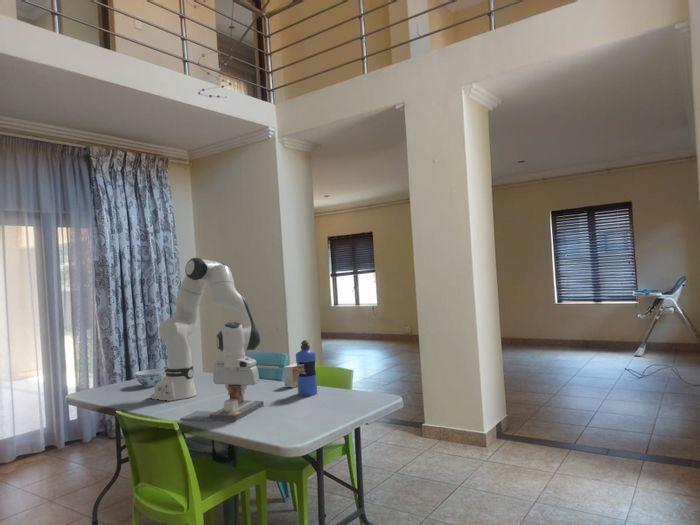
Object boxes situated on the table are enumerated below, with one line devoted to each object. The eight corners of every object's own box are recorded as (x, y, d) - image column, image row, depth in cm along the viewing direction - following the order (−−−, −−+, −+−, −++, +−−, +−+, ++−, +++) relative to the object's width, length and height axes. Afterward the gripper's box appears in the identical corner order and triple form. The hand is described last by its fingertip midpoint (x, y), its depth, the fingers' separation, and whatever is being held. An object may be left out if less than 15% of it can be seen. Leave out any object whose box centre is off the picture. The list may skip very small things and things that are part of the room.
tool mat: (179, 420, 198) (179, 418, 198) (197, 412, 209) (196, 410, 209) (202, 421, 195) (202, 419, 195) (219, 413, 205) (218, 411, 205)
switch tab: (224, 411, 199) (223, 400, 199) (230, 408, 203) (229, 398, 203) (233, 412, 198) (232, 401, 198) (238, 409, 202) (237, 398, 202)
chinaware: (170, 384, 269) (169, 370, 269) (143, 390, 258) (143, 375, 258) (156, 381, 279) (155, 367, 279) (130, 387, 267) (129, 373, 268)
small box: (293, 388, 243) (292, 367, 243) (284, 387, 246) (283, 366, 246) (303, 384, 250) (302, 364, 250) (294, 384, 253) (293, 363, 253)
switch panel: (209, 419, 196) (209, 412, 196) (239, 404, 217) (239, 398, 217) (235, 421, 192) (235, 413, 193) (263, 405, 213) (263, 399, 213)
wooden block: (230, 404, 203) (229, 385, 203) (235, 402, 207) (234, 383, 207) (238, 405, 202) (237, 385, 202) (243, 402, 206) (242, 383, 206)
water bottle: (308, 390, 237) (306, 338, 237) (321, 393, 230) (318, 339, 231) (293, 394, 230) (290, 341, 231) (306, 397, 224) (303, 342, 224)
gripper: (209, 363, 205) (210, 396, 205) (252, 363, 198) (253, 397, 198) (217, 360, 211) (219, 392, 211) (259, 360, 204) (261, 393, 204)
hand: (236, 395), depth 204 cm, fingers closed on wooden block, 4 cm apart
